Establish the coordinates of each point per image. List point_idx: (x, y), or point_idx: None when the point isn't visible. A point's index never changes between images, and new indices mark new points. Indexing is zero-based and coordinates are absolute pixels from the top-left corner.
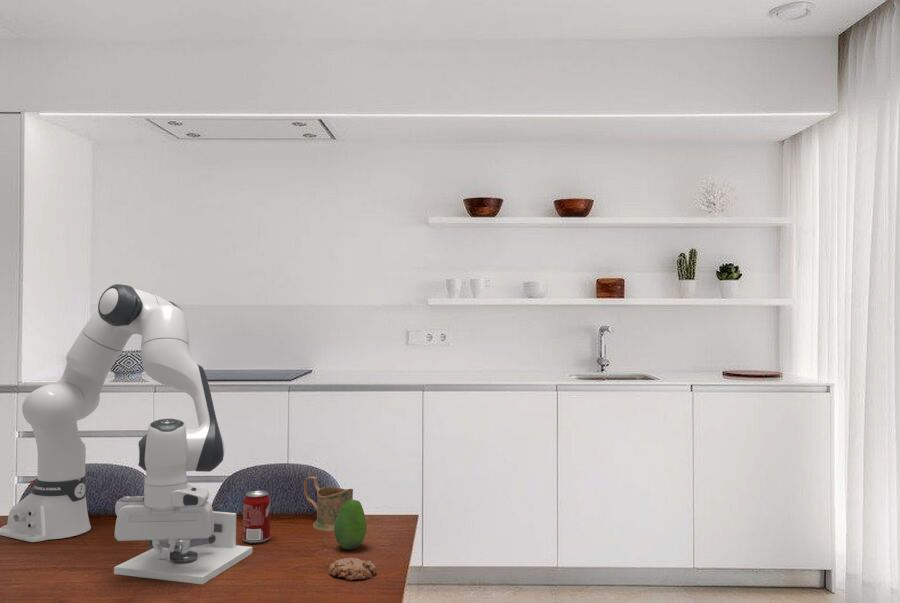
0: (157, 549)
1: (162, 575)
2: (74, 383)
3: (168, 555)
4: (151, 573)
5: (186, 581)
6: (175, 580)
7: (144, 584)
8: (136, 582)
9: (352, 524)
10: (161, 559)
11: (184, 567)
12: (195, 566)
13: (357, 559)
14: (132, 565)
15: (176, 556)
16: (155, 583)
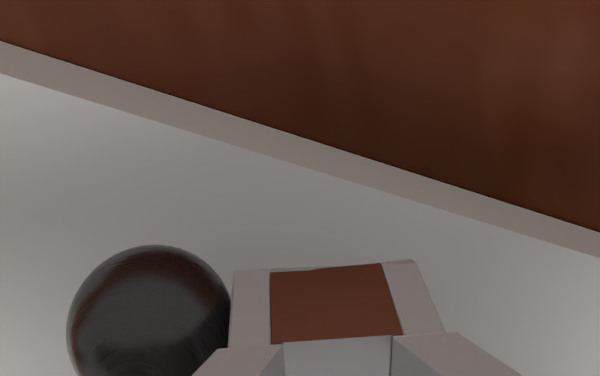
0: (464, 367)
1: (314, 157)
2: None
3: (252, 304)
4: (442, 201)
5: (13, 51)
6: (156, 93)
7: (468, 17)
8: (557, 81)
9: None
10: (356, 266)
11: None
12: (21, 330)
13: None
14: None
15: (107, 278)
16: (356, 41)
